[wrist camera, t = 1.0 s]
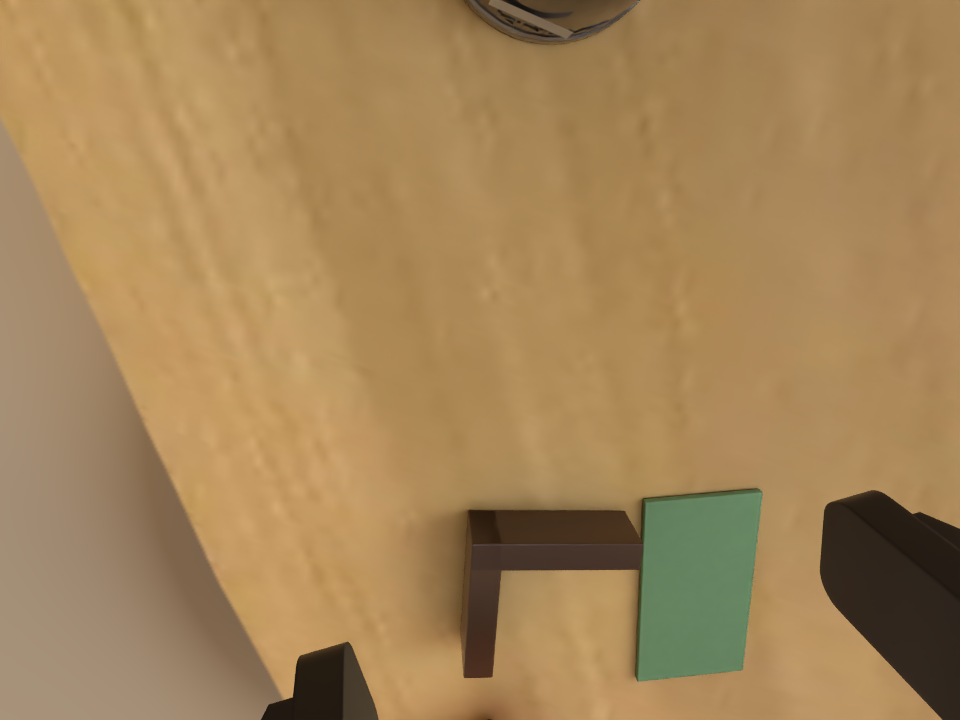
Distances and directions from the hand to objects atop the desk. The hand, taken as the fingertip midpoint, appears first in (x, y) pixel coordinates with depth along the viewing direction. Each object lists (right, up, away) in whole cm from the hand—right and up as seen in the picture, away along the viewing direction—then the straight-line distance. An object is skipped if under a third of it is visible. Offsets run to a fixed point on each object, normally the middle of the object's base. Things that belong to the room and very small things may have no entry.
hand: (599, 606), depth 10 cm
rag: (+10, -9, +24) cm, 28 cm away
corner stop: (+2, -8, +23) cm, 25 cm away
